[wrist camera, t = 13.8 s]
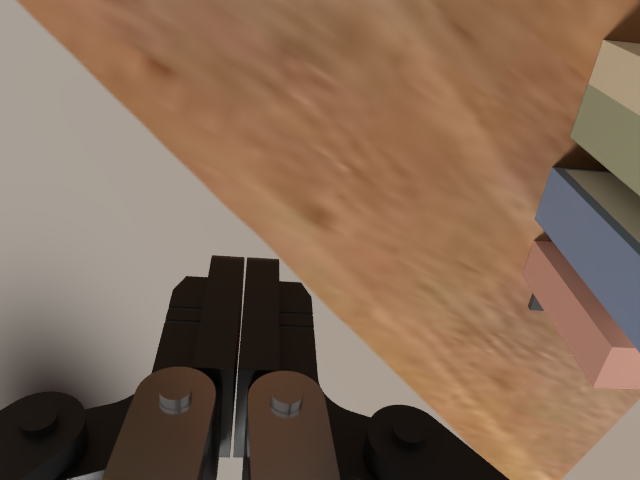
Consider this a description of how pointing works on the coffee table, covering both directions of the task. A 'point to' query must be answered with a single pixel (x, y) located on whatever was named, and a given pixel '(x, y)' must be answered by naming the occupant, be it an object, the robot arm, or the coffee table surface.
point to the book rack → (546, 259)
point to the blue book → (598, 237)
